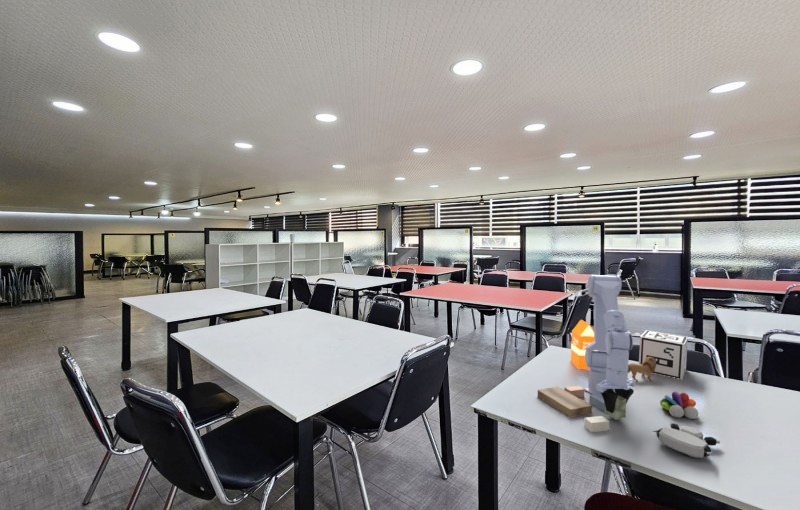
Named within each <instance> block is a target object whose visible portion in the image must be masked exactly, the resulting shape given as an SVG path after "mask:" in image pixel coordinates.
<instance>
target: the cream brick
mask: <svg viewBox="0 0 800 510" xmlns="http://www.w3.org/2000/svg"><path fill="white" fill-rule="evenodd" d="M583 420H584V421H583V423H584V425H583V427H584V428H586V429H587V430H588V431H589V432H590V433H596V432H605V431H609V430H610V421H609V420H608V419H607V418H605V417H604V416H602V415H599V416H597V415H596V416H590V417H584V419H583Z"/></svg>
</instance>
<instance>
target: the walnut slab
mask: <svg viewBox="0 0 800 510" xmlns="http://www.w3.org/2000/svg"><path fill="white" fill-rule="evenodd" d="M537 397H538V399H540V400H542V401H544V402H546V403H547V404H549V405H550V406H552V407H554V409H557V410H558V411H560V412H561V413H563V414H565V415H566V416H567V417H570V418H574V417H577V416H578V417H579V416H583V415H587V414H589V415H590V414H592V413H593V412H592V411H593V405H592V404H591V403H589V402H587V401H585V400H583V399H581V398H580V397H578V398H577V397H576V396H574V395H572V394H570V393H568V392H566V391H565V389H563V388H560V387H559V386H553V387H548V388H541V389H537Z"/></svg>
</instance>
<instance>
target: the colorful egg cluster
mask: <svg viewBox="0 0 800 510" xmlns="http://www.w3.org/2000/svg"><path fill="white" fill-rule="evenodd" d="M659 405H660V406H661V408H662V409H664V410H667V411H668V412H669V414H670V415H671V416H672V417H674V418H678V419H679V418H682V417H683V416H684V417H686V418H687V419H691V420H695V419H697V418H698V417H699V410H698V409H697V408H696V407H695V406H696V405H697V402H696V401H695V399H694V398H693V399H692V398H690V397H689V395H688V393H686V392H682V393H679V392H677V391H672V393H671V396H669V395H668V394H665V395H664V397H662V398H661V399H660V400H659Z"/></svg>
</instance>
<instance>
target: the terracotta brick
mask: <svg viewBox="0 0 800 510" xmlns="http://www.w3.org/2000/svg"><path fill="white" fill-rule="evenodd" d="M583 388H584V387H582V386H580V385H576V386H575V385H573V386H564V390H565V391H566V392H568V393H570V394H572V395H574V396H576V397H577V398H584V397H585V389H583Z"/></svg>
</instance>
